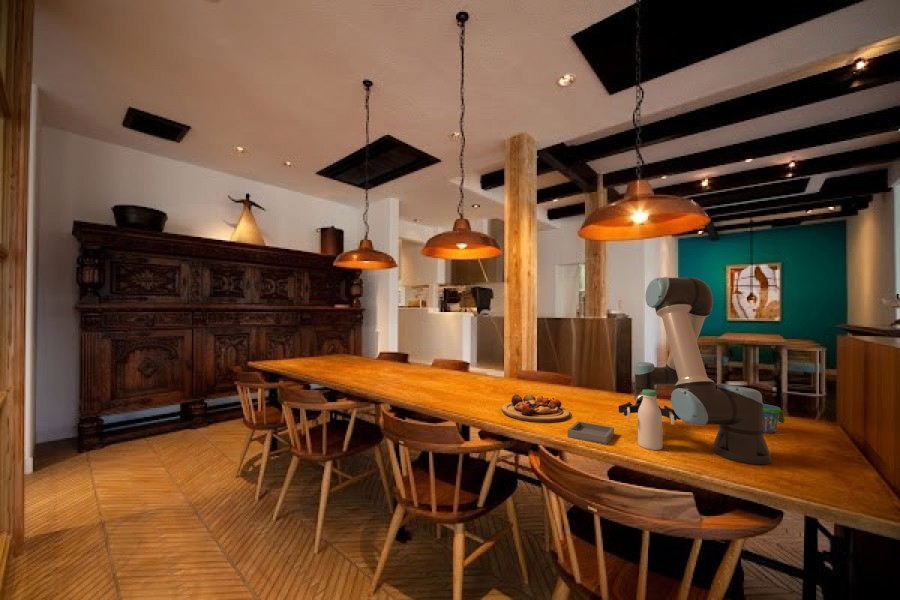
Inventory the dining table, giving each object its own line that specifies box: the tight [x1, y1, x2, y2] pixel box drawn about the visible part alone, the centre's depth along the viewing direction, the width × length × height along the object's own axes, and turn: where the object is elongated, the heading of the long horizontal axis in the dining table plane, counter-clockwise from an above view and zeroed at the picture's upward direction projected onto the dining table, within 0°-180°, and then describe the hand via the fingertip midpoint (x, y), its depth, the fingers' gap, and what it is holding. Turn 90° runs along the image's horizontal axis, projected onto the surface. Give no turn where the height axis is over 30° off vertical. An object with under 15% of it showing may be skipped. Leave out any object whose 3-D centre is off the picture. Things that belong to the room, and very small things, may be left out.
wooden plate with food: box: [500, 393, 571, 423], centre depth 171 cm, size 32×32×8 cm
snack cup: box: [763, 403, 786, 434], centre depth 148 cm, size 16×10×10 cm
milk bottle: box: [637, 389, 664, 451], centre depth 129 cm, size 8×8×20 cm
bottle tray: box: [567, 421, 615, 446], centre depth 139 cm, size 14×14×3 cm
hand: (650, 417), depth 126 cm, fingers open, 13 cm apart
